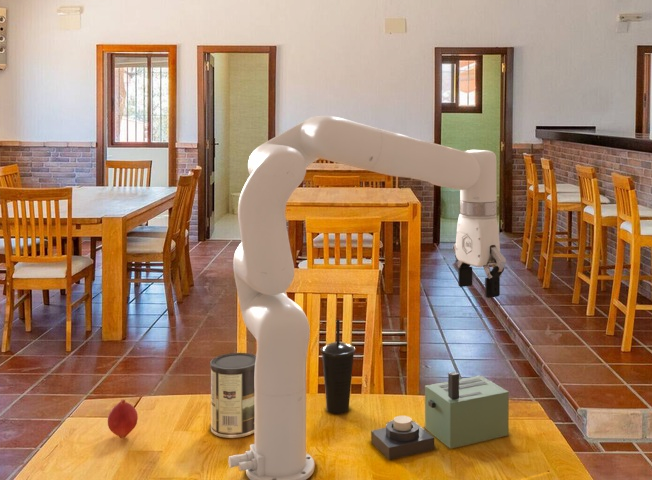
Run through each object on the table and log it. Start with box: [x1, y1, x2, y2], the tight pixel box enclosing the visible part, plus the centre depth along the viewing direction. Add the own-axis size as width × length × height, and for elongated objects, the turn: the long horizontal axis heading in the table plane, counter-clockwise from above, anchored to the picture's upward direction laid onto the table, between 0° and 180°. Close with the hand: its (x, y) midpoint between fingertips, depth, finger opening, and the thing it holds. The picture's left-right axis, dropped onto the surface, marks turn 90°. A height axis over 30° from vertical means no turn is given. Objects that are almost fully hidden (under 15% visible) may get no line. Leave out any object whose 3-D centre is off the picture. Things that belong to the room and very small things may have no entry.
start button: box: [392, 415, 413, 431], centre depth 140 cm, size 4×4×2 cm
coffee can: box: [209, 352, 257, 439], centre depth 148 cm, size 10×10×14 cm
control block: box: [370, 419, 435, 461], centre depth 140 cm, size 10×8×4 cm
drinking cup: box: [320, 319, 356, 415], centre depth 157 cm, size 8×8×20 cm
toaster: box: [424, 375, 510, 449], centre depth 146 cm, size 15×10×9 cm
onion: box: [107, 398, 139, 439], centre depth 144 cm, size 6×6×8 cm
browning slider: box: [447, 371, 460, 399], centre depth 141 cm, size 2×2×5 cm
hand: (478, 291), depth 147 cm, fingers open, 9 cm apart
